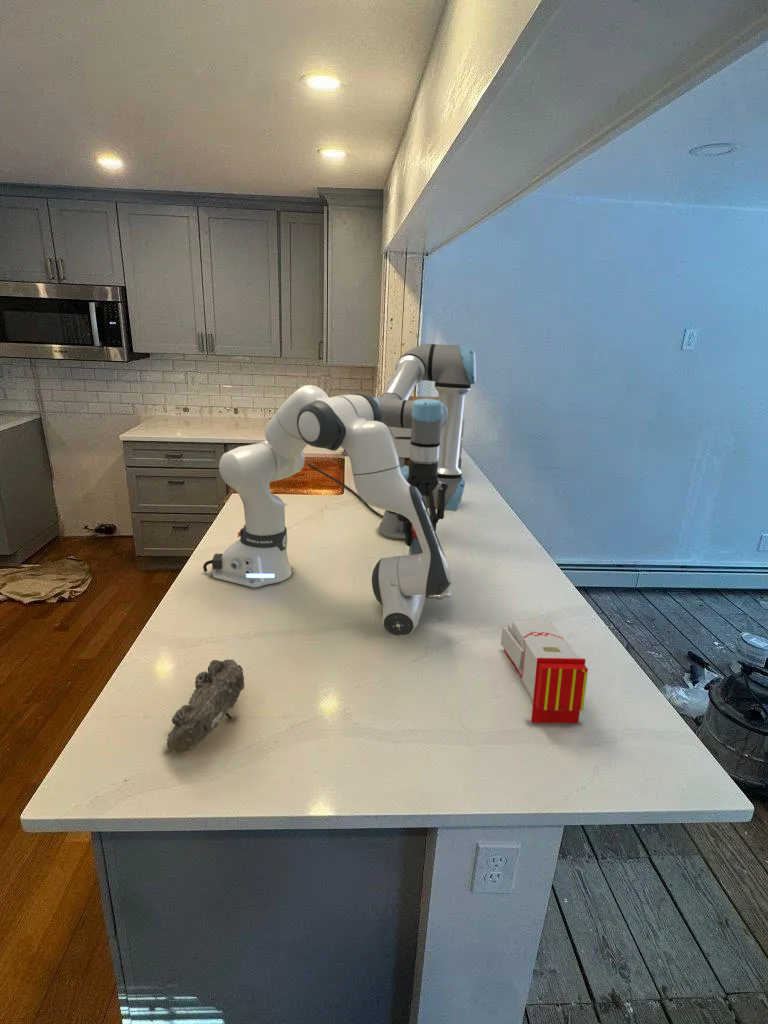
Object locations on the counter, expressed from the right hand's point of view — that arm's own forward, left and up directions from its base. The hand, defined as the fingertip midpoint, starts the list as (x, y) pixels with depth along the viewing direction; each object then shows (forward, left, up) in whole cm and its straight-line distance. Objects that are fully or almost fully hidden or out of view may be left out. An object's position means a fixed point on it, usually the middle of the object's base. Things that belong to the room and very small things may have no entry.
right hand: (418, 543), depth 154 cm
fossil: (+13, -66, -15) cm, 69 cm away
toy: (+45, -7, -15) cm, 48 cm away
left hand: (-1, +1, -9) cm, 9 cm away
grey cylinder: (0, 0, -15) cm, 15 cm away
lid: (0, 0, +4) cm, 4 cm away
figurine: (-136, +81, -15) cm, 159 cm away
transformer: (-88, +87, -15) cm, 125 cm away
